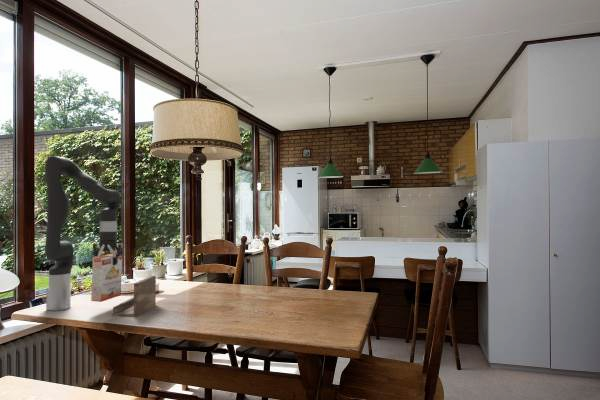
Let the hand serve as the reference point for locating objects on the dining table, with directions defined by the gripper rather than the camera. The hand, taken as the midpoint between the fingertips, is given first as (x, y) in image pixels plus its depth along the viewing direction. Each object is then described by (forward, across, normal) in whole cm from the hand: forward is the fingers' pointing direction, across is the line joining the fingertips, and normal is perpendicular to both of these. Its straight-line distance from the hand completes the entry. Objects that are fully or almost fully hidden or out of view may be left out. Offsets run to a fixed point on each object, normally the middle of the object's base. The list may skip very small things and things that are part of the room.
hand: (107, 264), depth 180 cm
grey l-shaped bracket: (+22, +13, +1) cm, 26 cm away
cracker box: (+16, 0, 0) cm, 16 cm away
